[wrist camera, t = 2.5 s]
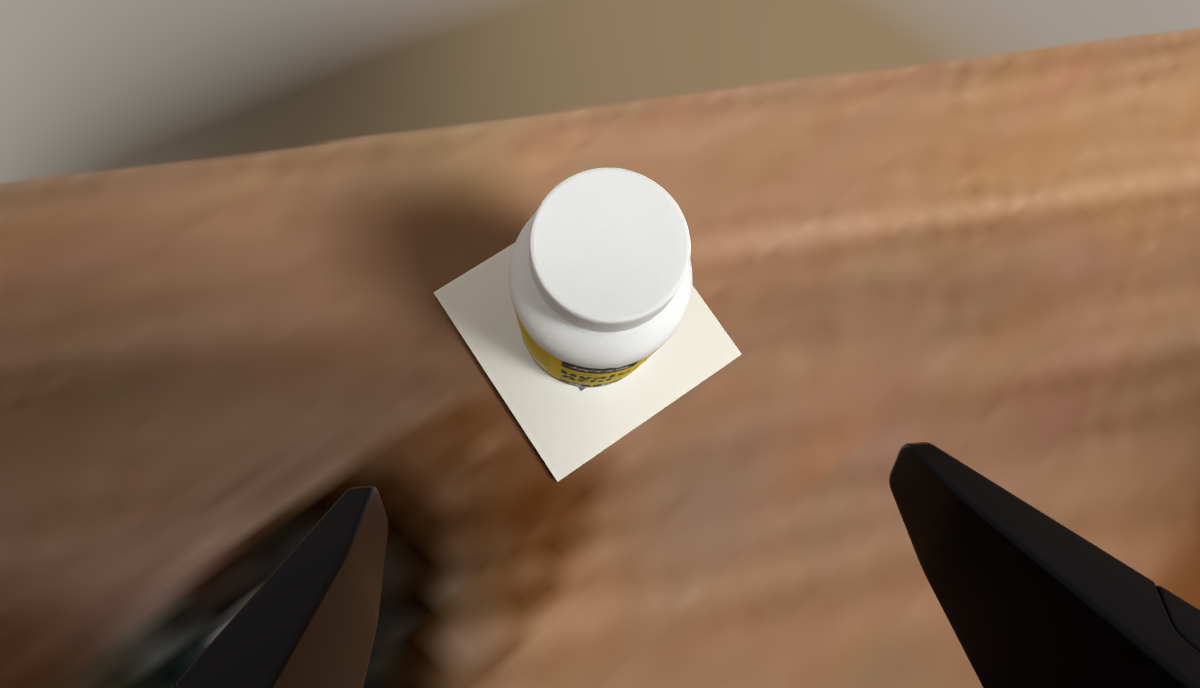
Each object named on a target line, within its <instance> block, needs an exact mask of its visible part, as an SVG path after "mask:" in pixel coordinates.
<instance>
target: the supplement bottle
mask: <svg viewBox="0 0 1200 688" xmlns="http://www.w3.org/2000/svg"><path fill="white" fill-rule="evenodd" d="M690 252H691V243H690V235H689V230H688V226H687V223H686V220H685V217H684V216H683V214H682V212H681V210H680V208H679V206H678V205H677V203H676V202H675V201H674V199H673V198H672V197H671V196H670V194H669V193H668V192H667V191H665V190H664V189H663V188H662V187H661V186H660V185H658V184H657V183H655V182H654V181H652V180H651V179H649V178H647V177H645V176H643V175H642V174H639V173H636V172H633V171H629V170H625V169H621V168H596V169H590V170H586V171H583V172H580V173H577V174H575V175H572V176H570V177H568V178H567V179H565V180H564V181H562V182H561V183H559V184H558V185H557V186H556V187H555V188H553V189H552V190H551V191H550V192H549V193H548V195H547V196H546V197H545V198H544V199H543V201H542V202H541V204H540V205H539V207H538V209H537V211H536V213H535V214H534V215H533V216H532V217H531V218H530V219H529V220H528V222H527V223H526V224H525V226H524V227H523V229H522V230H521V232H520V234H519V236H518V238H517V240H516V242H515V245H514V248H513V251H512V254H511V259H510V265H509V285H510V294H511V299H512V303H513V306H514V310H515V313H516V317H517V320H518V324H519V327H520V330H521V334H522V338H523V341H524V344H525V346H526V348H527V350H528V352H529V353H530V355H531V357H532V358H533V359H534V361H535V362H536V363H537V365H538V366H539V367H540V368H541V369H542V370H543V371H545V372H546V373H547V374H548V375H550V376H551V377H553V378H554V379H556V380H558V381H560V382H563V383H565V384H568V385H572V386H576V387H584V388H593V387H601V386H606V385H609V384H612V383H615V382H617V381H619V380H621V379H623V378H625V377H626V376H628V375H629V374H631V373H632V372H633V371H634V370H636V369H637V368H638V367H639V366H640V365H641V364H642V363H644V362H645V361H646V360H647V359H648V358H649V357H650V356H651V355H652V354H653V353H655V352H656V351H657V350H658V349H659V348H660V347H661V346H663V345H664V344H665V342H666V341H667V340H668V339H669V338H670V337H671V336H672V334H673V333H674V332H675V330H676V329H677V327H678V326H679V324H680V323H681V321H682V319H683V317H684V315H685V313H686V310H687V307H688V304H689V300H690V296H691V290H692V267H691V262H690Z"/></svg>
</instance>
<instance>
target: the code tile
mask: <svg viewBox="0 0 1200 688" xmlns="http://www.w3.org/2000/svg"><path fill="white" fill-rule="evenodd" d="M514 245H515V243H513V244H512V245H510V246H508V247H507V248H505V249H503V250H502V251H500V252H499V253H497V254H495V255H494V256H492V257H490V258H489V259H487V260H486V261H484V262H482V263H481V264H479V265H477V266H476V267H474V268H472V269H471V270H469V271H468V272H466V273H464V274H463V275H461V276H459V277H458V278H456V279H455V280H453V281H451V282H450V283H448V284H446V285H445V286H443V287H441V288H440V289H438V290H437V291H435V292H433V293H434V294H435V296H436V297H437V299H438V300H439V302H440V303H441V305H442V306H443V308H444V309H445V311H446V313H447V314H448V316H449V317H450V319H451V320H452V322H453V323H454V325H455V326H456V328H457V329H458V331H459V332H460V334H461V335H462V337H463V338H464V340H465V342H466V343H467V345H468V346H469V348H470V349H471V351H472V352H473V354H474V355H475V357H476V358H477V360H478V361H479V363H480V364H481V366H482V367H483V369H484V371H485V372H486V374H487V375H488V377H489V378H490V380H491V381H492V383H493V384H494V386H495V387H496V389H497V390H498V392H499V393H500V395H501V396H502V398H503V400H504V401H505V403H506V404H507V406H508V407H509V409H510V410H511V412H512V413H513V415H514V416H515V418H516V419H517V421H518V422H519V424H520V425H521V427H522V429H523V430H524V432H525V433H526V435H527V436H528V438H529V439H530V441H531V442H532V444H533V445H534V447H535V448H536V450H537V451H538V453H539V454H540V456H541V458H542V459H543V461H544V462H545V464H546V465H547V467H548V468H549V470H550V471H551V473H552V474H553V476H554V477H555V479H556V480H557V482H558V481H560V480H561V479H563V478H564V477H565V476H567V475H568V474H570V473H571V472H573V471H574V470H576V469H577V468H578V467H580V466H581V465H583V464H584V463H586V462H587V461H588V460H590V459H591V458H593V457H594V456H596V455H597V454H599V453H600V452H601V451H603V450H604V449H606V448H607V447H609V446H610V445H612V444H613V443H614V442H616V441H617V440H619V439H620V438H622V437H623V436H624V435H626V434H627V433H629V432H630V431H632V430H633V429H635V428H636V427H637V426H639V425H640V424H642V423H643V422H645V421H646V420H648V419H649V418H650V417H652V416H653V415H655V414H656V413H658V412H659V411H660V410H662V409H663V408H665V407H666V406H668V405H669V404H671V403H672V402H673V401H675V400H676V399H678V398H679V397H681V396H682V395H684V394H685V393H686V392H688V391H689V390H691V389H692V388H694V387H695V386H697V385H698V384H699V383H701V382H702V381H704V380H705V379H707V378H708V377H709V376H711V375H712V374H714V373H715V372H717V371H718V370H720V369H721V368H722V367H724V366H725V365H727V364H728V363H730V362H731V361H733V360H734V359H735V358H737V357H738V356H740V355H741V353H740V351H739V350H738V348H737V347H736V346H735V344H734V343H733V341H732V340H731V339H730V337H729V336H728V334H727V333H726V332H725V330H724V329H723V327H722V326H721V325H720V323H719V322H718V320H717V319H716V318H715V316H714V315H713V313H712V312H711V311H710V309H709V308H708V306H707V305H706V304H705V302H704V301H703V299H702V298H701V297H700V295H699V294H698V292H697V291H696V289H695V288H694V287H693V285H692V290H691V296H690V300H689V304H688V307H687V310H686V313H685V315H684V317H683V319H682V321H681V323H680V324H679V326H678V327H677V329H676V330H675V332H674V333H673V334H672V336H671V337H670V338H669V339H668V340H667V341H666V342H665V344H664V345H663V346H661V347H660V348H659V349H658V350H657V351H656V352H655V353H653V354H652V355H651V356H650V357H649V358H648V359H647V360H646V361H645V362H644V363H642V364H641V365H640V366H639V367H638V368H637V369H636V370H634V371H633V372H632V373H631V374H629V375H628V376H626V377H625V378H623V379H621V380H619V381H617V382H615V383H612V384H609V385H606V386H601V387H593V388H584V387H576V386H572V385H568V384H565V383H563V382H560V381H558V380H556V379H554V378H553V377H551V376H550V375H548V374H547V373H546V372H545V371H543V370H542V369H541V368H540V367H539V366H538V365H537V363H536V362H535V361H534V359H533V358H532V357H531V355H530V353H529V352H528V350H527V348H526V346H525V344H524V341H523V338H522V334H521V330H520V327H519V324H518V320H517V317H516V313H515V310H514V306H513V303H512V299H511V294H510V285H509V265H510V259H511V254H512V251H513V248H514Z"/></svg>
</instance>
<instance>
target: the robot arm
mask: <svg viewBox="0 0 1200 688" xmlns="http://www.w3.org/2000/svg"><path fill="white" fill-rule="evenodd" d="M889 481H890V488H891V491H892V493H893V496H894V499H895V501H896V504H897V506H898V509H899V511H900V514H901V516H902V519H903V522H904V524H905V527H906V529H907V532H908V534H909V537H910V539H911V542H912V545H913V547H914V550H915V552H916V555H917V557H918V560H919V562H920V564H921V567H922V569H923V571H924V573H925V575H926V577H927V579H928V581H929V583H930V585H931V587H932V589H933V591H934V593H935V595H936V597H937V599H938V601H939V603H940V604H941V606H942V608H943V610H944V612H945V614H946V616H947V618H948V620H949V622H950V624H951V626H952V628H953V630H954V632H955V634H956V636H957V637H958V639H959V641H960V643H961V645H962V647H963V649H964V651H965V653H966V655H967V657H968V659H969V661H970V663H971V665H972V667H973V669H974V670H975V672H976V674H977V676H978V678H979V680H980V682H981V684H982V686H983V688H1200V610H1199V609H1197V608H1195V607H1194V606H1192V605H1190V604H1189V603H1187V602H1185V601H1184V600H1182V599H1181V598H1179V597H1177V596H1176V595H1174V594H1173V593H1171V592H1169V591H1168V590H1166V589H1165V588H1163V587H1161V586H1156V585H1155V583H1154V582H1153V581H1151V580H1150V579H1148V578H1147V577H1145V576H1143V575H1142V574H1140V573H1139V572H1137V571H1135V570H1134V569H1132V568H1131V567H1129V566H1127V565H1126V564H1124V563H1122V562H1121V561H1119V560H1118V559H1116V558H1114V557H1113V556H1111V555H1110V554H1108V553H1106V552H1105V551H1103V550H1102V549H1100V548H1098V547H1097V546H1095V545H1093V544H1092V543H1090V542H1089V541H1087V540H1085V539H1084V538H1082V537H1081V536H1079V535H1077V534H1076V533H1074V532H1073V531H1071V530H1069V529H1068V528H1066V527H1064V526H1063V525H1061V524H1060V523H1058V522H1056V521H1055V520H1053V519H1052V518H1050V517H1048V516H1047V515H1045V514H1044V513H1042V512H1040V511H1039V510H1037V509H1036V508H1034V507H1032V506H1031V505H1029V504H1027V503H1026V502H1024V501H1023V500H1021V499H1019V498H1018V497H1016V496H1015V495H1013V494H1011V493H1010V492H1008V491H1007V490H1005V489H1003V488H1002V487H1000V486H998V485H997V484H995V483H994V482H992V481H990V480H989V479H987V478H986V477H984V476H982V475H981V474H979V473H978V472H976V471H974V470H973V469H971V468H969V467H968V466H966V465H965V464H963V463H961V462H960V461H958V460H957V459H955V458H953V457H952V456H950V455H949V454H947V453H945V452H944V451H942V450H941V449H939V448H937V447H936V446H934V445H932V444H930V443H927V442H919V443H907V444H905V445H903V446H902V447H901V449H900V451H899V454H898V456H897V459H896V461H895V463H894V466H893V468H892V471H891V473H890V479H889ZM387 534H388V522H387V516H386V513H385V510H384V507H383V504H382V501H381V498H380V495H379V492H378V490H377V489H376V487H374V486H363V487H352V488H350V489H348V490H347V491H346V492H345V493H344V494H343V495H342V496H341V497H340V498H339V499H338V500H337V502H336V503H335V504H334V505H333V506H332V507H331V508H330V509H329V511H328V512H327V513H326V514H325V515H324V516H323V517H322V518H321V520H320V521H319V522H318V523H317V524H316V525H315V526H314V527H313V529H312V530H311V531H310V532H309V533H308V534H307V535H306V536H305V538H304V539H303V540H302V541H301V542H300V543H299V544H298V546H297V547H296V548H295V549H294V550H293V551H292V552H291V553H290V555H289V556H288V557H287V558H286V559H285V560H284V561H283V562H282V564H281V565H280V566H279V567H278V568H277V569H276V570H275V571H274V573H273V574H272V575H271V576H270V577H269V578H268V579H267V580H266V582H265V583H264V584H263V585H262V586H261V587H260V588H259V589H258V591H257V592H256V593H255V594H254V595H253V596H252V597H251V598H250V600H249V601H248V602H247V603H246V604H245V605H244V606H243V607H242V609H241V610H240V611H239V612H238V613H237V614H236V615H235V616H234V618H233V619H232V620H231V621H230V622H229V623H228V624H227V625H226V627H225V628H224V629H223V630H222V631H221V632H220V633H219V634H218V636H217V637H216V638H215V639H214V640H213V641H212V642H211V643H210V645H209V646H208V647H207V648H206V649H205V650H204V651H203V652H202V654H201V655H200V656H199V657H198V658H197V659H196V660H195V661H194V663H193V664H192V665H191V666H190V667H189V668H188V669H187V670H186V672H185V673H184V674H183V675H182V676H181V677H180V678H179V679H178V681H177V683H176V686H177V687H176V686H174V687H171V688H363V685H364V681H365V677H366V672H367V668H368V663H369V659H370V655H371V650H372V646H373V641H374V637H375V632H376V627H377V622H378V614H379V607H380V597H381V588H382V579H383V570H384V561H385V552H386V543H387Z"/></svg>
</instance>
